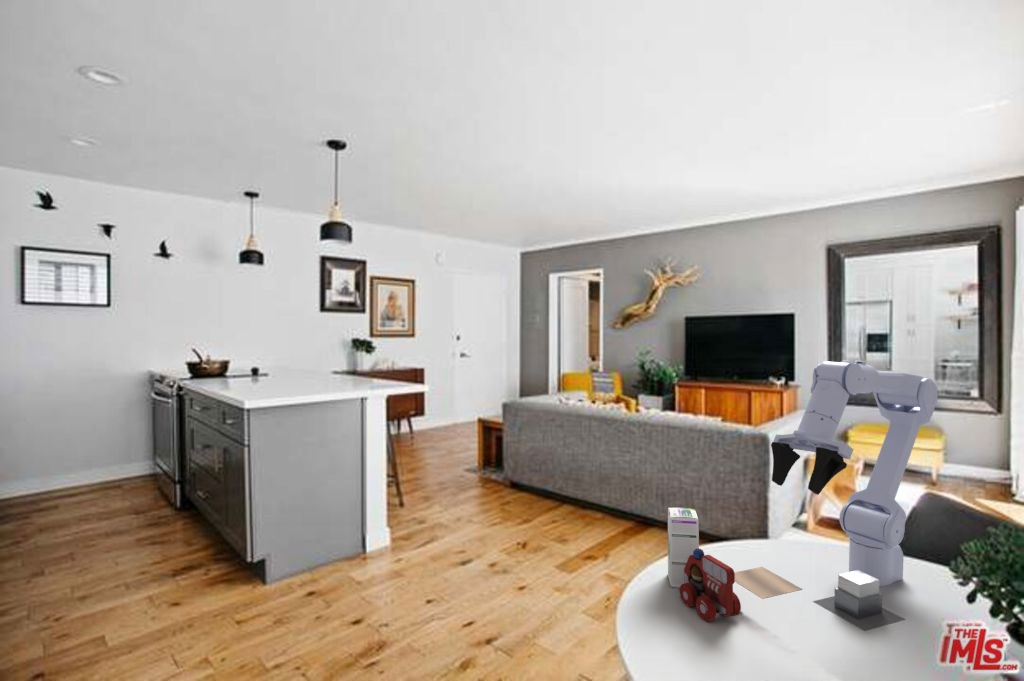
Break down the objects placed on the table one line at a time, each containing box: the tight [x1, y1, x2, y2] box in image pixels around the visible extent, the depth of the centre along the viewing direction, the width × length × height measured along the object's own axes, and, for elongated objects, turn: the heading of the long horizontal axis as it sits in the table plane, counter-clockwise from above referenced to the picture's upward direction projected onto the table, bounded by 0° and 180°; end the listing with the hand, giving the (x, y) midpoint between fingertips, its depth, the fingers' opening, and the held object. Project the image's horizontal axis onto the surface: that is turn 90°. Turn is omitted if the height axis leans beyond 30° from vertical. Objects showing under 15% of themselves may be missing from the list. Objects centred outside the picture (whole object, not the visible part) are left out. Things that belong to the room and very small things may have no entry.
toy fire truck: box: [679, 547, 742, 622], centre depth 100 cm, size 7×12×10 cm, turn 18°
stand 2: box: [812, 595, 906, 632], centre depth 97 cm, size 10×10×2 cm
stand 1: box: [734, 566, 803, 600], centre depth 107 cm, size 10×10×2 cm
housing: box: [834, 570, 883, 620], centre depth 97 cm, size 6×4×6 cm
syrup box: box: [667, 507, 700, 589], centre depth 110 cm, size 6×6×14 cm
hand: (794, 487), depth 95 cm, fingers open, 7 cm apart
